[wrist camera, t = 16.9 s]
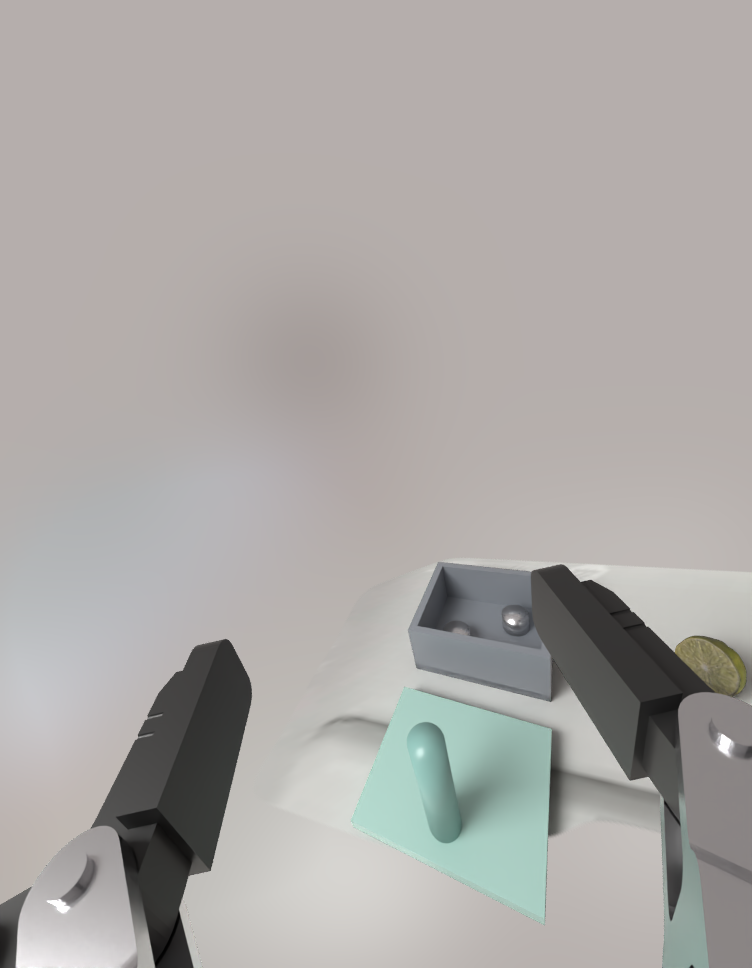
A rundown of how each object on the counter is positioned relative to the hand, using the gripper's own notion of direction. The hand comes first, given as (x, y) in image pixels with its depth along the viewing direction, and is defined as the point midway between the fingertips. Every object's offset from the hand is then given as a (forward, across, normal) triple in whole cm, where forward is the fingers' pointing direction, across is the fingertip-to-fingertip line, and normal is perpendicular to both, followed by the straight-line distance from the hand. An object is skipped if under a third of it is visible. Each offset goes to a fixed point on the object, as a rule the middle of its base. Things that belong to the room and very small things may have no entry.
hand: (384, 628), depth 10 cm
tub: (+24, -9, +30) cm, 39 cm away
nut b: (+24, -6, +29) cm, 38 cm away
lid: (+10, -2, +30) cm, 32 cm away
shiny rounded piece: (+24, -13, +29) cm, 40 cm away
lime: (+14, -27, +30) cm, 43 cm away
